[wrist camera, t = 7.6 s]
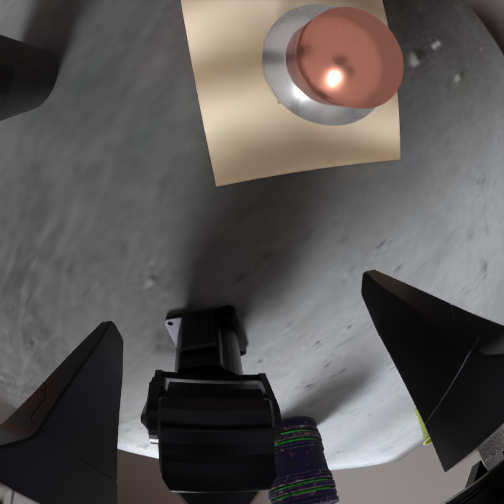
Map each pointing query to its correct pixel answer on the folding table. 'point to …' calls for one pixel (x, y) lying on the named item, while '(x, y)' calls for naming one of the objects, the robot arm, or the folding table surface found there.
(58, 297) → the folding table surface
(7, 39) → the drinking cup
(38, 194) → the folding table surface
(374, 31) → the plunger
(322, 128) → the stand
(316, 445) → the storage jar
